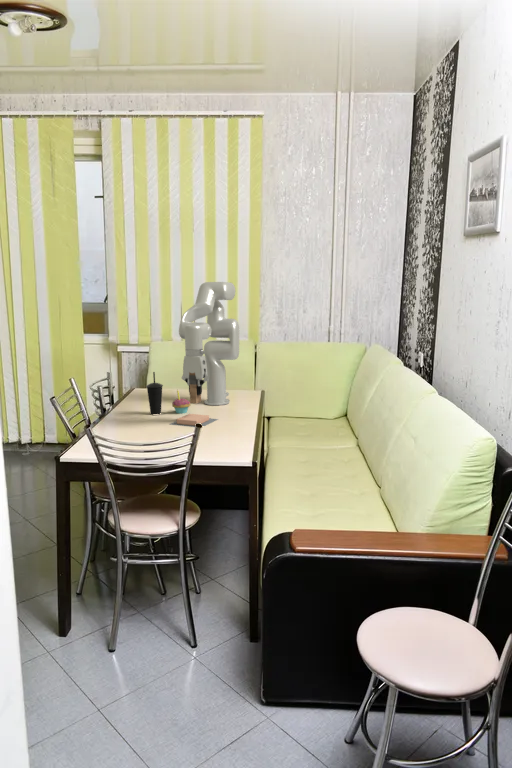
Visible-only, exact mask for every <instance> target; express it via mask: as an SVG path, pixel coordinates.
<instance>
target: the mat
mask: <svg viewBox="0 0 512 768" xmlns="http://www.w3.org/2000/svg"><path fill="white" fill-rule="evenodd" d="M216 421H219V418H210V417H209V420H208V421H206V422H204V423H202V426H204V427H206V426H209V425H210V424H212V423H214V422H216ZM168 425H171V426H178V427H179V426H180V427H190V428H196V427H195V426H193V425H183V424H177V420H176V421H173V422H171V423H169V424H168Z"/></svg>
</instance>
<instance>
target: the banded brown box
mask: <svg viewBox="0 0 512 768" xmlns="http://www.w3.org/2000/svg"><path fill="white" fill-rule="evenodd" d="M189 384H190V393H189V402H190V404H196V405H197V404H199V403H201V402H202V394H200V395H197V386H198V385H197V379H196V375H195V373H190V372H189Z"/></svg>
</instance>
